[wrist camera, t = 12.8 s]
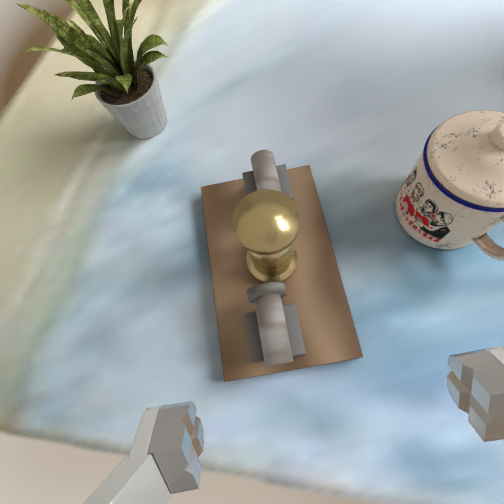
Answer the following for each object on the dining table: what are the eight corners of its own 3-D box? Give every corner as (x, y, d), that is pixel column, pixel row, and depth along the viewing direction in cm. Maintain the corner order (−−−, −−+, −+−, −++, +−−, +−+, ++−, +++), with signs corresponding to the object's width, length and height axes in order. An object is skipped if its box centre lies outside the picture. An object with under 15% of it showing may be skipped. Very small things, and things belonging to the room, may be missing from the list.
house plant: (197, 65, 44) (149, -98, 29) (221, 141, 39) (178, -9, 24) (98, 95, 44) (-2, -51, 29) (109, 175, 39) (-6, 47, 24)
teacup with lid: (375, 192, 34) (416, 107, 23) (453, 162, 35) (528, 65, 24) (439, 294, 30) (525, 247, 19) (527, 258, 30) (661, 192, 19)
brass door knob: (291, 234, 32) (292, 183, 24) (302, 279, 30) (306, 242, 22) (244, 243, 32) (228, 196, 24) (251, 289, 30) (237, 255, 22)
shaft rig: (308, 173, 36) (312, 131, 30) (359, 357, 28) (378, 352, 22) (204, 194, 36) (187, 157, 30) (227, 381, 29) (211, 382, 23)
